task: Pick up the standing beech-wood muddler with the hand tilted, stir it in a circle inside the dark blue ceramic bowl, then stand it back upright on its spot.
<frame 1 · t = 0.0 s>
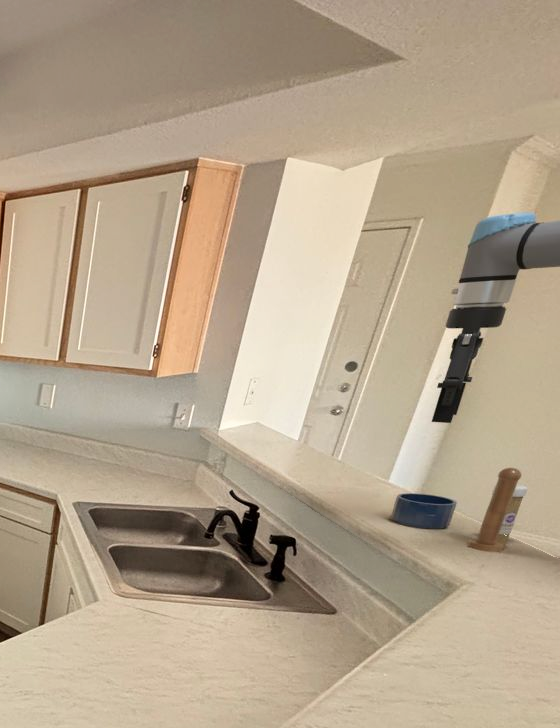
hand: (444, 418, 119), 27 cm above the counter, tool pointing down, fingers open, 13 cm apart
muddler: (480, 556, 120), on the counter
sprinkles bottle: (489, 547, 125), on the counter
bowl: (418, 522, 140), on the counter
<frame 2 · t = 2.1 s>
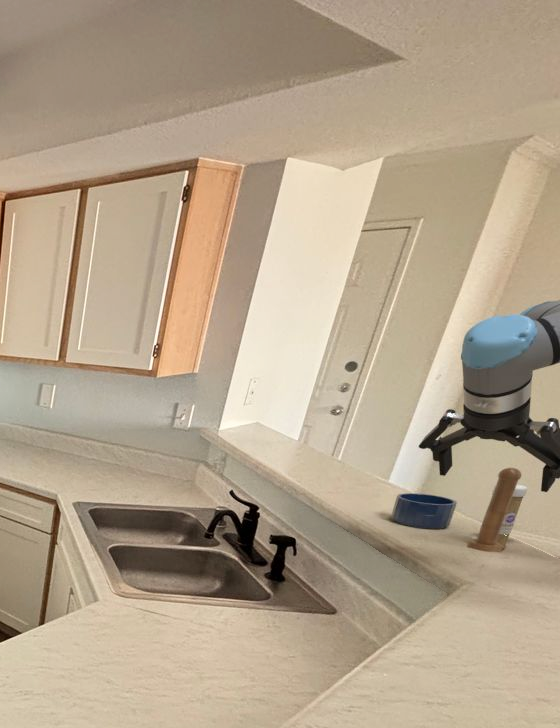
hand: (494, 477, 109), 18 cm above the counter, tool tilted 45°, fingers open, 13 cm apart
nothing on the counter moved.
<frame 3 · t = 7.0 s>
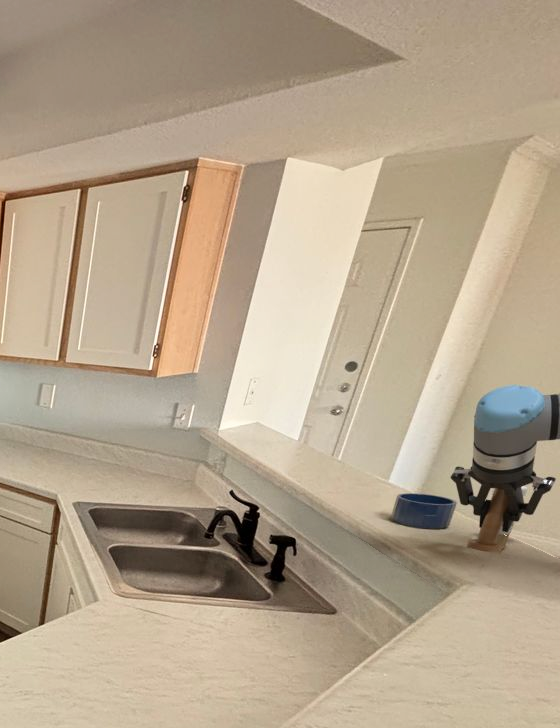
hand: (496, 524, 120), 6 cm above the counter, tool tilted 45°, fingers closed on muddler, 3 cm apart
muddler: (480, 556, 120), on the counter, touching gripper
everything else where it was.
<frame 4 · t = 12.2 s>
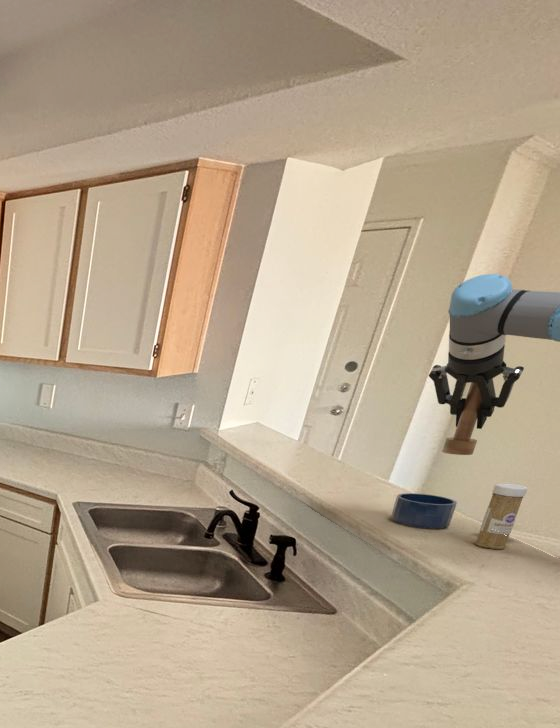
hand: (470, 422, 129), 24 cm above the counter, tool tilted 45°, fingers closed on muddler, 3 cm apart
muddler: (457, 452, 129), point 18 cm above the counter, touching gripper
everything else where it was.
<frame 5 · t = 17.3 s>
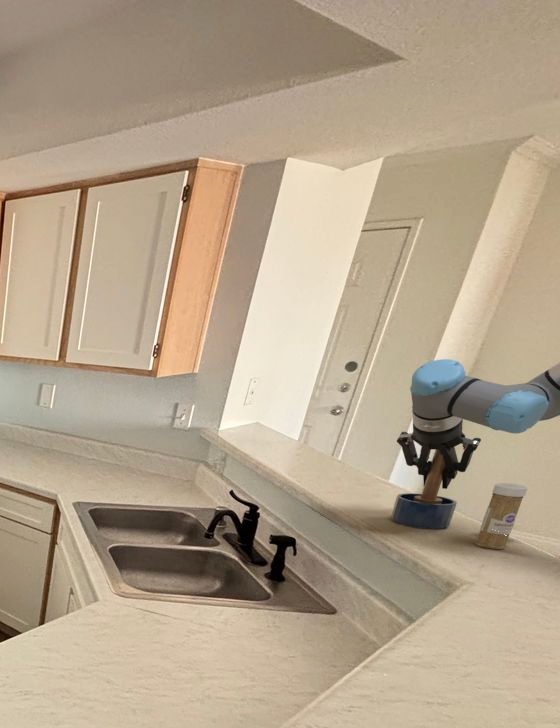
hand: (437, 482, 139), 9 cm above the counter, tool tilted 45°, fingers closed on muddler, 3 cm apart
muddler: (424, 510, 139), point 3 cm above the counter, touching gripper
everything else where it was.
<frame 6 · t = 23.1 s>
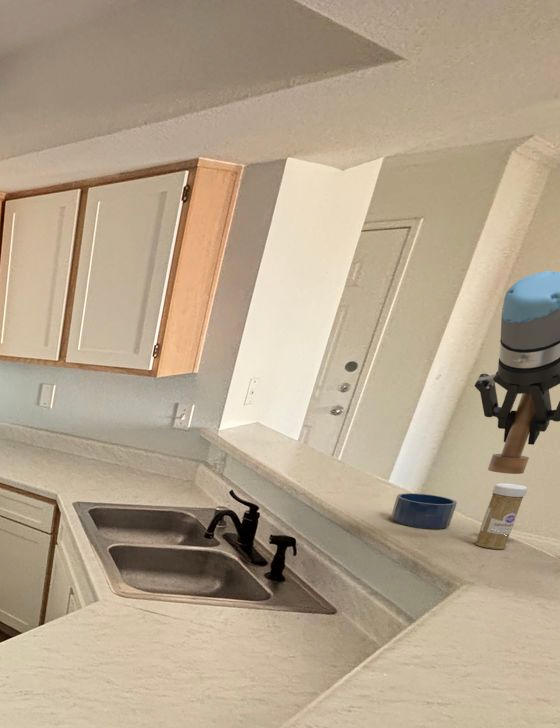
hand: (521, 437, 115), 24 cm above the counter, tool tilted 45°, fingers closed on muddler, 3 cm apart
muddler: (505, 471, 115), point 17 cm above the counter, touching gripper
everything else where it was.
when the fingers open (6 cm above the counter, at t = 28.0 s): muddler stays where it is, on the counter.
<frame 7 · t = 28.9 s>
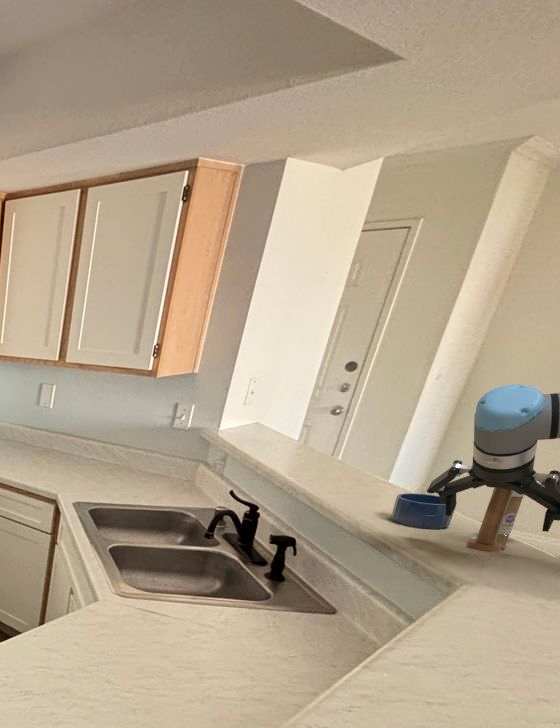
hand: (497, 517, 118), 8 cm above the counter, tool tilted 45°, fingers open, 13 cm apart
muddler: (480, 556, 120), on the counter
everything else where it was.
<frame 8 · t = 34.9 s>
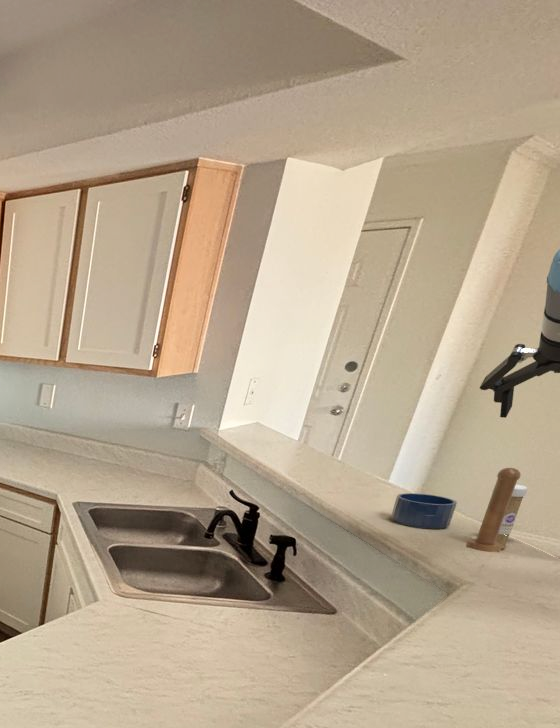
nothing on the counter moved.
at the end: muddler 0.1 cm from the target spot on the counter beside the bowl, on the counter; muddler tilted 0°; the gripper is holding nothing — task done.
